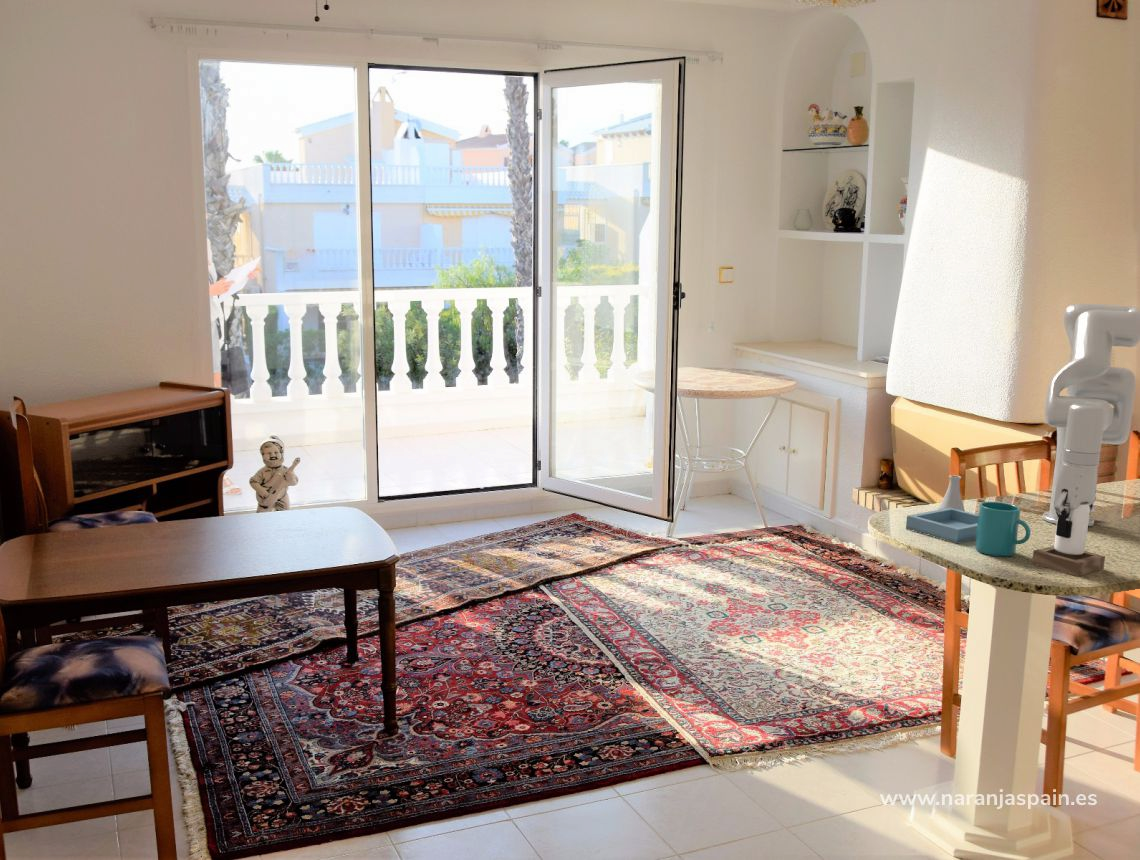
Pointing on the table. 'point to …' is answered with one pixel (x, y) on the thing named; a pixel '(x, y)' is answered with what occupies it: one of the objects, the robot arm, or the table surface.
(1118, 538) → the table surface
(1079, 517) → the can
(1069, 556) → the holder
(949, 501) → the flask
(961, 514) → the tray
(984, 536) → the cup
